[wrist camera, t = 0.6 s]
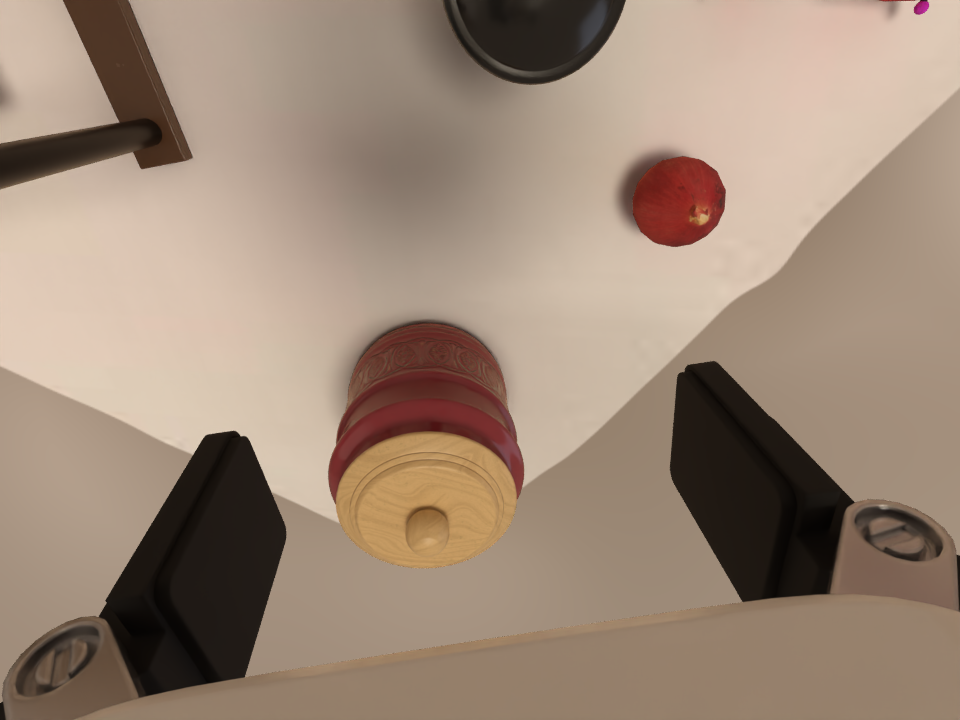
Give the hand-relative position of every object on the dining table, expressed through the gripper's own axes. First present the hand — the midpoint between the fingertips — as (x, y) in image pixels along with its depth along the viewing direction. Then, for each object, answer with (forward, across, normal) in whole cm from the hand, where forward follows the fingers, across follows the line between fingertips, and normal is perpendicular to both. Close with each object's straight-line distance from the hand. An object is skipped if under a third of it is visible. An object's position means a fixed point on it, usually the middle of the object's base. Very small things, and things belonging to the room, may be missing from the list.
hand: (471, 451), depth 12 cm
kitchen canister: (+30, +4, +17) cm, 34 cm away
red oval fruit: (+30, -16, +3) cm, 34 cm away
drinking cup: (+30, -5, -10) cm, 32 cm away
